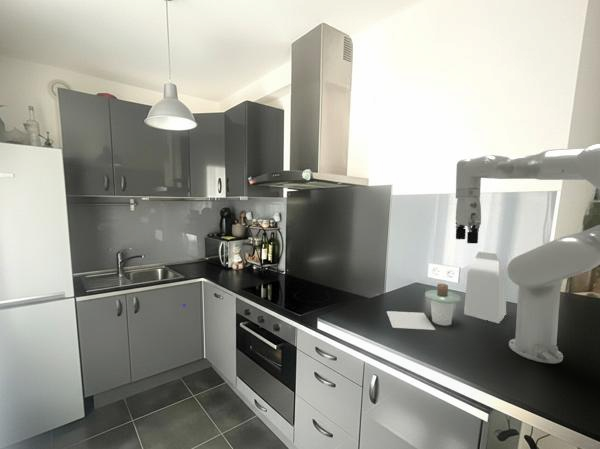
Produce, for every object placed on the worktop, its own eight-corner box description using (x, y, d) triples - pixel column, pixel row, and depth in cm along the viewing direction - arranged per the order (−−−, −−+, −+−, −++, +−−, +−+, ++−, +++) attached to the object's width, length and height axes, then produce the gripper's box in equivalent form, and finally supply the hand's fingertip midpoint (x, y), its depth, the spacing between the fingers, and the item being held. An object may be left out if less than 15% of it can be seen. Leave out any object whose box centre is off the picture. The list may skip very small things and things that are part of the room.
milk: (463, 314, 112) (465, 252, 110) (472, 306, 120) (474, 248, 117) (498, 323, 103) (502, 256, 101) (506, 314, 111) (509, 252, 108)
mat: (435, 331, 98) (435, 329, 98) (392, 328, 101) (392, 327, 101) (423, 313, 113) (423, 312, 113) (386, 312, 115) (386, 311, 115)
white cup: (447, 318, 108) (448, 294, 107) (457, 327, 101) (457, 301, 100) (427, 318, 109) (427, 294, 108) (434, 327, 101) (435, 301, 100)
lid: (466, 304, 97) (466, 290, 97) (430, 302, 99) (431, 289, 99) (452, 292, 109) (453, 280, 108) (421, 291, 111) (421, 280, 110)
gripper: (492, 193, 88) (489, 245, 90) (468, 194, 105) (466, 237, 107) (467, 193, 90) (465, 245, 91) (447, 194, 107) (446, 237, 108)
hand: (466, 241), depth 99 cm, fingers open, 9 cm apart
